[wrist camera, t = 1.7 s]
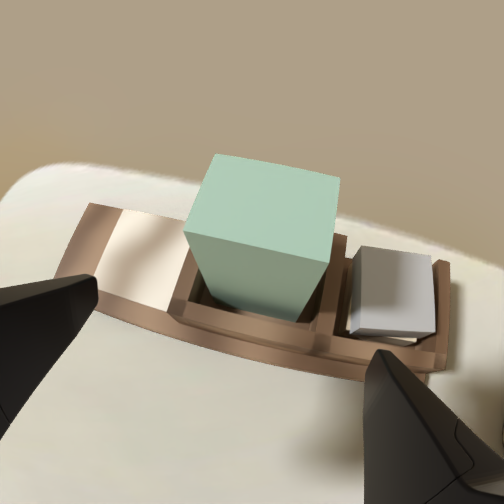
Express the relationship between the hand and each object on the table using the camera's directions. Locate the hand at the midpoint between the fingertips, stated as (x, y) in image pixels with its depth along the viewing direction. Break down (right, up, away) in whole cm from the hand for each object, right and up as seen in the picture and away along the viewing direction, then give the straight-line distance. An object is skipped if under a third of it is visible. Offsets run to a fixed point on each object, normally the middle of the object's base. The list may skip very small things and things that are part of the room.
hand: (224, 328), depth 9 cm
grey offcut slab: (+10, -1, +10) cm, 14 cm away
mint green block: (+1, 0, +12) cm, 12 cm away
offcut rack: (0, -1, +13) cm, 13 cm away
